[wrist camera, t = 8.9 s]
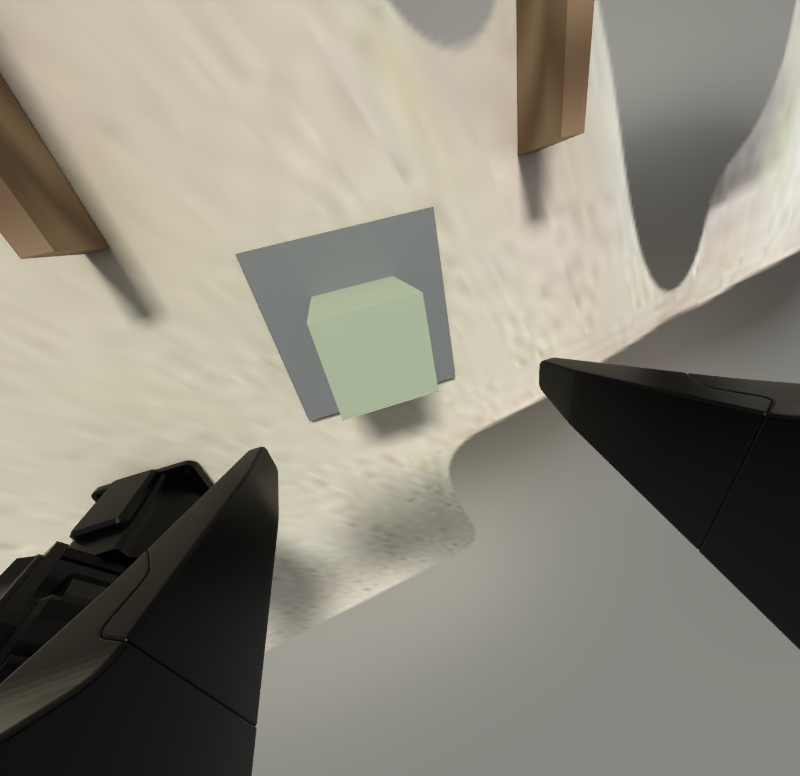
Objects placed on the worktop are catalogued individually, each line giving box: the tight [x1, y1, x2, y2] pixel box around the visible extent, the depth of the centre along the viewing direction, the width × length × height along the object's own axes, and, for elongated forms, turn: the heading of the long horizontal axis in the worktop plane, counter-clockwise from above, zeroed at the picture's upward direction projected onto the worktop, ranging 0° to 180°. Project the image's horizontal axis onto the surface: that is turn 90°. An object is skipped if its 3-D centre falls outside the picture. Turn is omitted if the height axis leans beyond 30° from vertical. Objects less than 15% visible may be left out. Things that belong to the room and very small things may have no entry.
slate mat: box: [236, 207, 455, 421], centre depth 19 cm, size 11×11×1 cm
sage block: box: [307, 276, 439, 420], centre depth 16 cm, size 5×5×6 cm
